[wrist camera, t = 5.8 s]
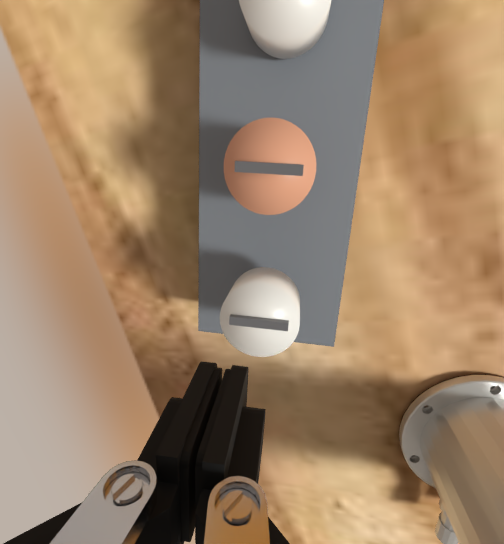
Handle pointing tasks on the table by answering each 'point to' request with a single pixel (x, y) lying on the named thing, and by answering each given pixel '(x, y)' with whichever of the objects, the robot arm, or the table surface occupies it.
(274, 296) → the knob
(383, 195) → the table surface
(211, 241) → the control rail
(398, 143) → the table surface
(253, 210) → the knob middle
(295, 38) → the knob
